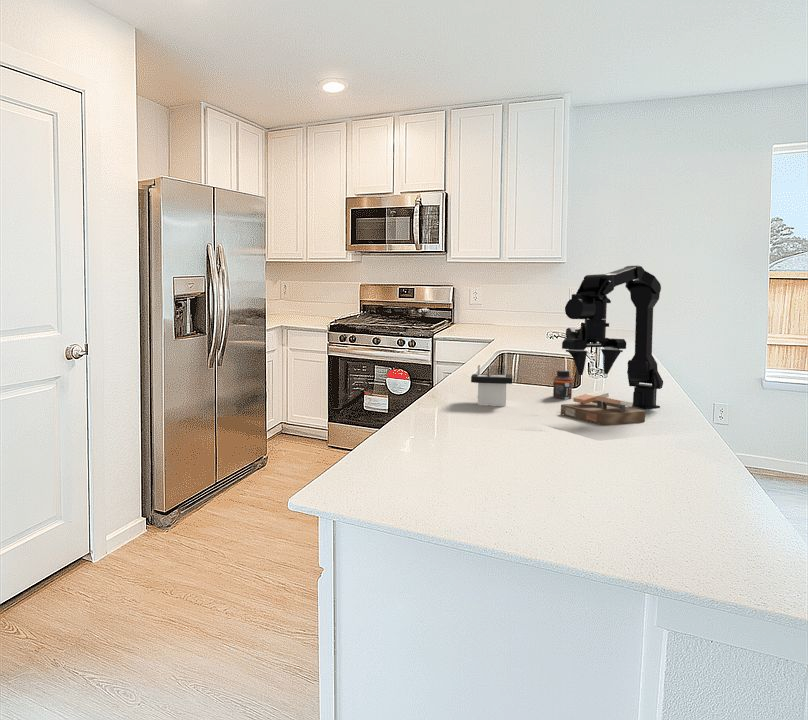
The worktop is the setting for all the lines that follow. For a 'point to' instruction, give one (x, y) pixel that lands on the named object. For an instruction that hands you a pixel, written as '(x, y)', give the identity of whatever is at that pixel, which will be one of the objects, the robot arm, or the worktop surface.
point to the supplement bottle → (562, 385)
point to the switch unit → (603, 413)
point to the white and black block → (492, 386)
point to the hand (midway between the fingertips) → (593, 374)
